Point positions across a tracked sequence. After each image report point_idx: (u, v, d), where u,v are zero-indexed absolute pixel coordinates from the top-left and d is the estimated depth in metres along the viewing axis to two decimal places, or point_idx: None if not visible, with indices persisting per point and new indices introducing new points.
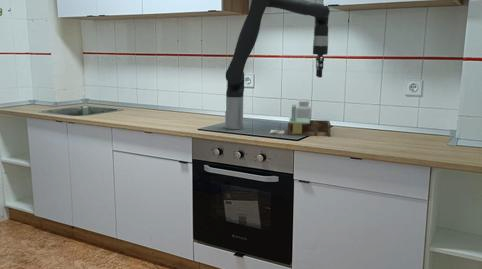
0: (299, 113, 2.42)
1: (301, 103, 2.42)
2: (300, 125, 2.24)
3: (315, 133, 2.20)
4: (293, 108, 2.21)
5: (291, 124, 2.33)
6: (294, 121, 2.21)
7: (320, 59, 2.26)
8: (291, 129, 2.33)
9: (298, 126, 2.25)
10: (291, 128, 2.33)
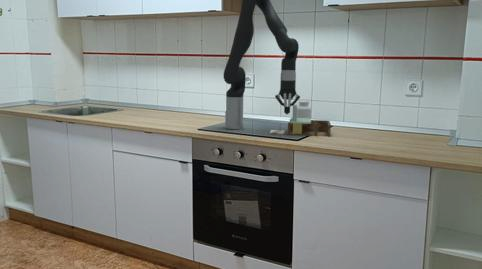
0: (299, 113, 2.42)
1: (301, 103, 2.42)
2: (300, 125, 2.24)
3: (315, 133, 2.20)
4: (294, 108, 2.21)
5: (291, 124, 2.33)
6: (295, 121, 2.21)
7: (298, 98, 2.24)
8: (291, 129, 2.33)
9: (298, 126, 2.25)
10: (291, 128, 2.33)
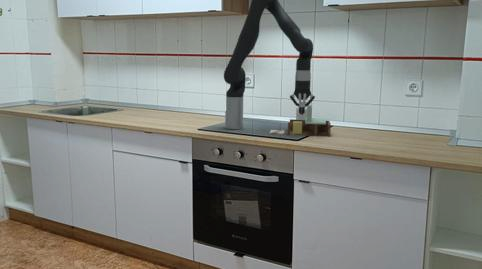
0: (299, 113, 2.42)
1: (301, 103, 2.42)
2: (300, 125, 2.24)
3: (315, 133, 2.20)
4: (309, 108, 2.20)
5: (291, 124, 2.33)
6: (310, 122, 2.20)
7: (313, 99, 2.23)
8: (291, 129, 2.33)
9: (298, 126, 2.25)
10: (291, 128, 2.33)
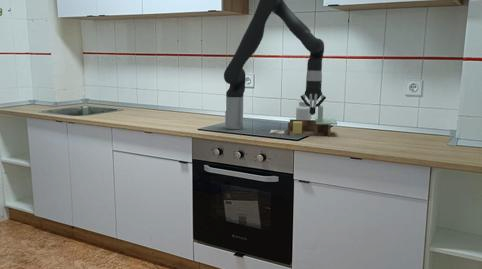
0: (299, 113, 2.42)
1: (301, 103, 2.42)
2: (300, 125, 2.24)
3: (315, 133, 2.20)
4: (320, 109, 2.19)
5: (291, 124, 2.33)
6: (321, 122, 2.19)
7: (324, 99, 2.22)
8: (291, 129, 2.33)
9: (298, 126, 2.25)
10: (291, 128, 2.33)
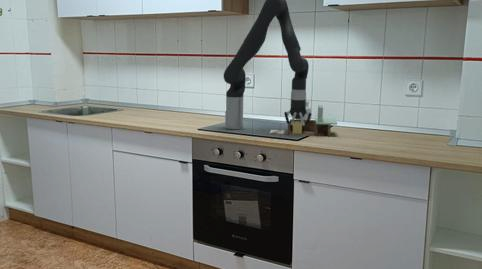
0: None
1: None
2: (300, 125, 2.24)
3: (315, 133, 2.20)
4: (320, 109, 2.19)
5: None
6: (321, 122, 2.19)
7: (310, 115, 2.25)
8: None
9: (298, 126, 2.25)
10: None
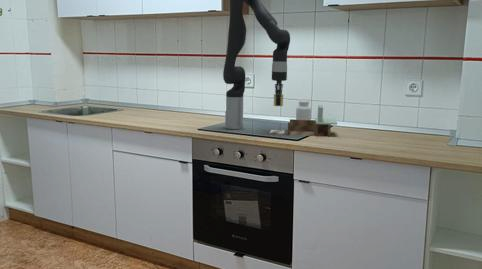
0: (299, 113, 2.42)
1: (301, 103, 2.42)
2: None
3: (315, 133, 2.20)
4: (320, 109, 2.19)
5: (291, 124, 2.33)
6: (321, 122, 2.19)
7: None
8: (291, 129, 2.33)
9: None
10: (291, 128, 2.33)
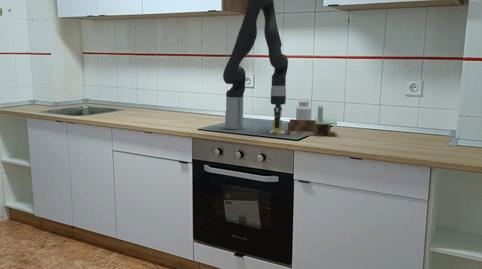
0: (299, 113, 2.42)
1: (301, 103, 2.42)
2: None
3: (315, 133, 2.20)
4: (320, 109, 2.19)
5: (291, 124, 2.33)
6: (321, 122, 2.19)
7: None
8: (291, 129, 2.33)
9: None
10: (291, 128, 2.33)
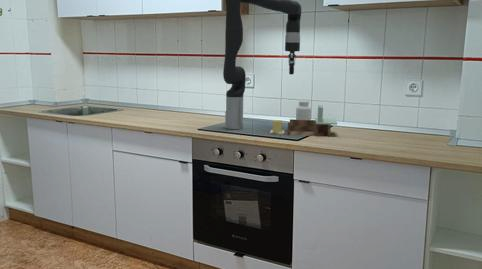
0: (299, 113, 2.42)
1: (301, 103, 2.42)
2: None
3: (315, 133, 2.20)
4: (320, 109, 2.19)
5: (291, 124, 2.33)
6: (321, 122, 2.19)
7: None
8: (291, 129, 2.33)
9: None
10: (291, 128, 2.33)
